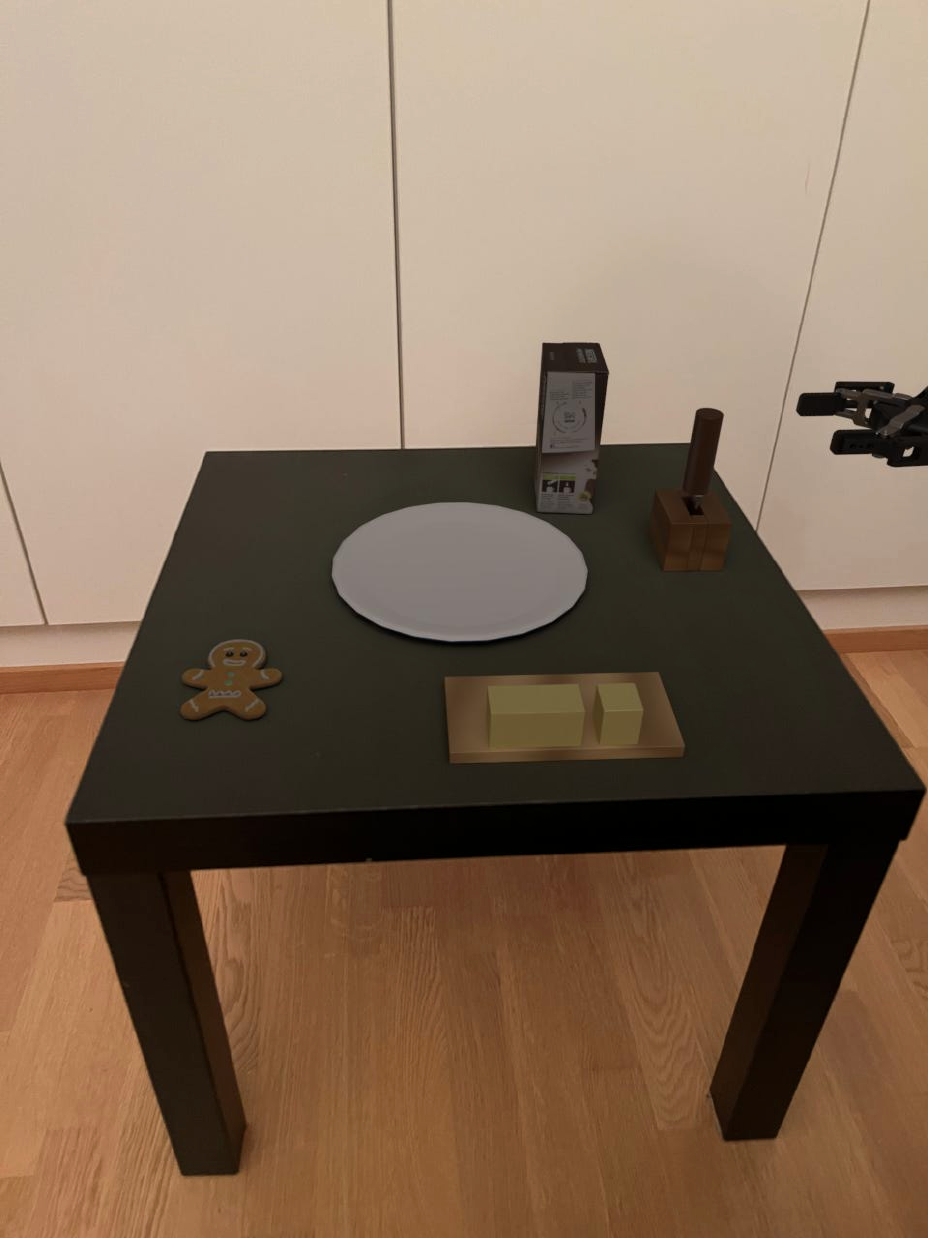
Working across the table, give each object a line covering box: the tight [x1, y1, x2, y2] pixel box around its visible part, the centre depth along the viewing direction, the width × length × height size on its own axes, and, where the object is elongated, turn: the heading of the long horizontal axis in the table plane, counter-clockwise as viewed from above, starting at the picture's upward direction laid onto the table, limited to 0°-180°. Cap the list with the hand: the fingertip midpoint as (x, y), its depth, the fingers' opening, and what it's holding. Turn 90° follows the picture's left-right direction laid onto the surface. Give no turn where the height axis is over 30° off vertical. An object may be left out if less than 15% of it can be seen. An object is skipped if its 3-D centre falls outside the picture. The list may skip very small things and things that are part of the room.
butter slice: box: [592, 683, 644, 745], centre depth 72 cm, size 3×3×4 cm
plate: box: [331, 501, 588, 644], centre depth 93 cm, size 25×25×1 cm
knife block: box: [647, 488, 733, 572], centre depth 96 cm, size 6×7×6 cm
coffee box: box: [533, 341, 610, 515], centre depth 102 cm, size 9×6×16 cm
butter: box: [486, 684, 585, 748], centre depth 72 cm, size 7×3×4 cm, turn 94°
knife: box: [682, 407, 725, 515], centre depth 93 cm, size 3×3×15 cm
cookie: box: [179, 639, 283, 721], centre depth 79 cm, size 8×1×10 cm
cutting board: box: [443, 671, 686, 765], centre depth 76 cm, size 18×9×1 cm, turn 93°
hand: (815, 422), depth 90 cm, fingers open, 8 cm apart
